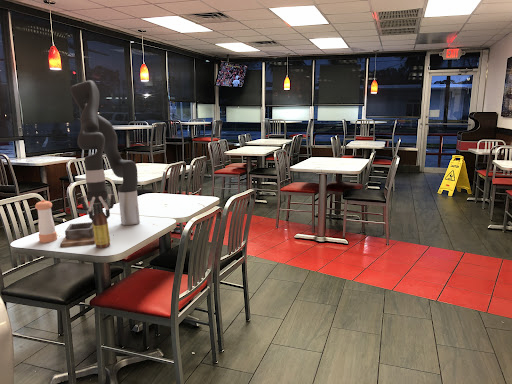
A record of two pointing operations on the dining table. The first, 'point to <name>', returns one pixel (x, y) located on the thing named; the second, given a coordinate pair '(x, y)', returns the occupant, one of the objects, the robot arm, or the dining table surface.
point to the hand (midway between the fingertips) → (99, 218)
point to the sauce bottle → (100, 227)
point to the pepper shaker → (45, 222)
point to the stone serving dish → (78, 235)
